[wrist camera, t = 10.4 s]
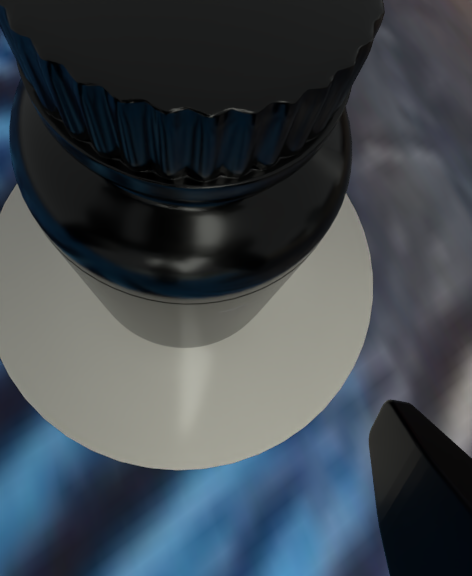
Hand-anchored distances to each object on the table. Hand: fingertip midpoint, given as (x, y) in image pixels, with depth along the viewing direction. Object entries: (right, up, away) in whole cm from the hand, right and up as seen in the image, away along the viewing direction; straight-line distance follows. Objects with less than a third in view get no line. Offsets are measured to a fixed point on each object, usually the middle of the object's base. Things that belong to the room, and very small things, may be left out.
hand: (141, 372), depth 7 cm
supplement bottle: (0, +2, +9) cm, 9 cm away
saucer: (0, +2, +10) cm, 10 cm away
